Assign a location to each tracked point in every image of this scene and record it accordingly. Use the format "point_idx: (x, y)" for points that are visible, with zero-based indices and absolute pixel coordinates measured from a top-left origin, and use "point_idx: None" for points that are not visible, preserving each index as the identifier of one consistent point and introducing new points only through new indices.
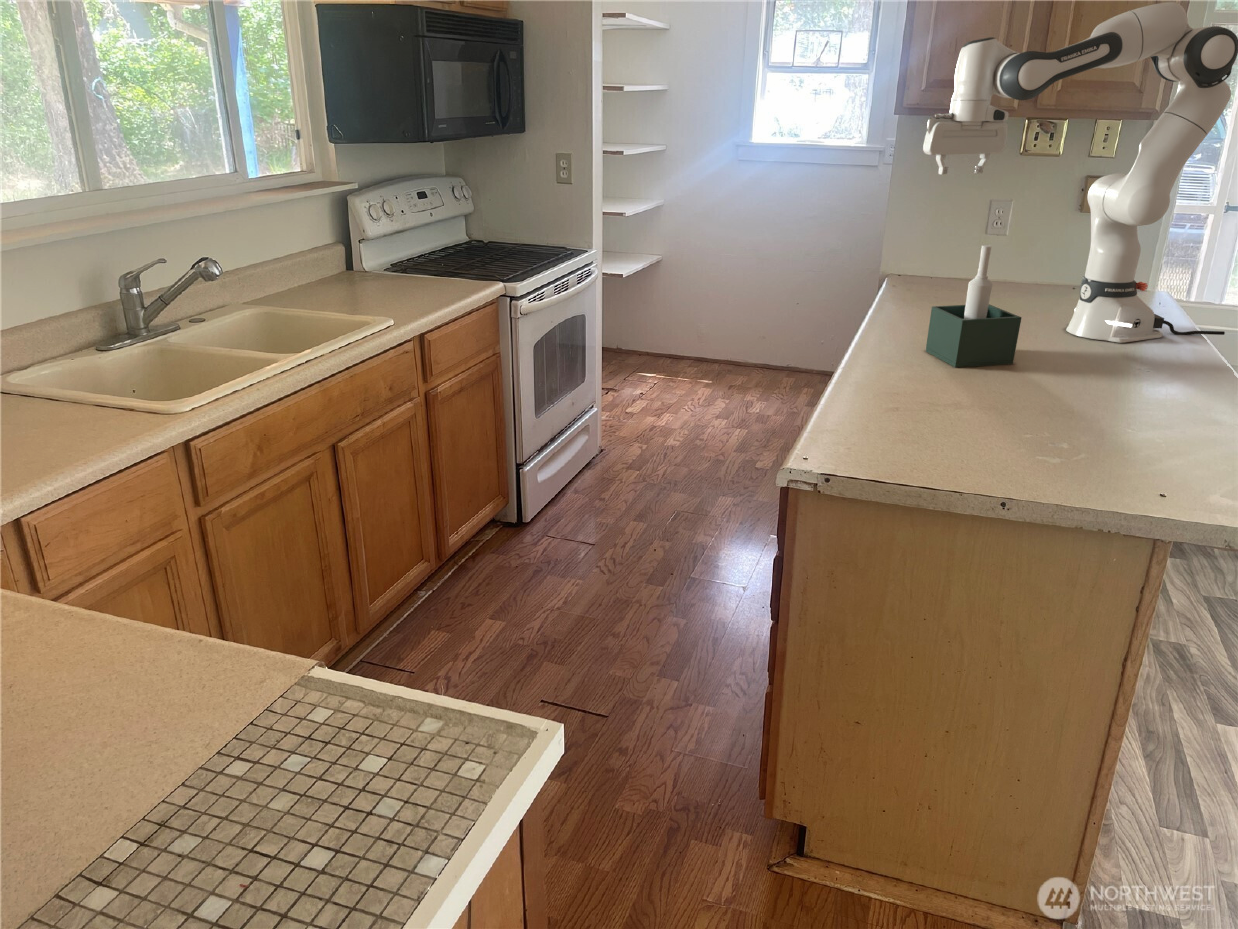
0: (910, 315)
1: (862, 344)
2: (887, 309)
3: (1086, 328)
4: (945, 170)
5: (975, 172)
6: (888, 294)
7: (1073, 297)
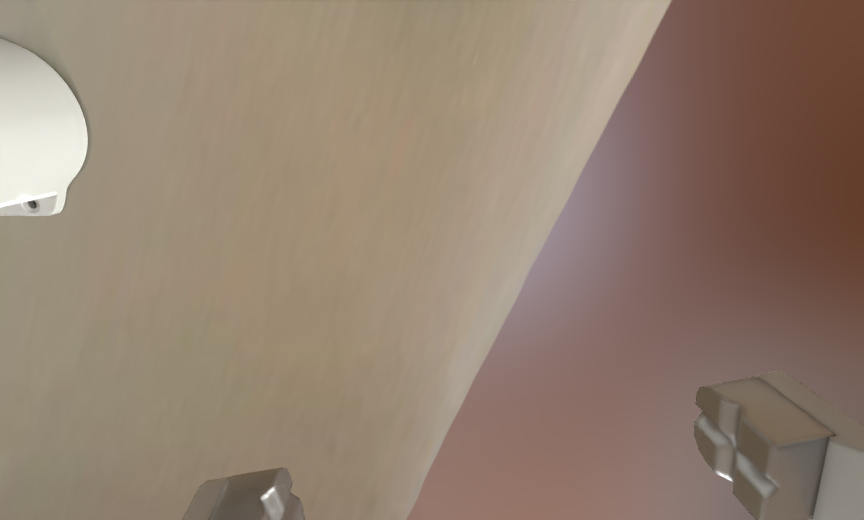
0: (439, 298)
1: (652, 26)
2: (473, 348)
3: (31, 73)
4: (769, 400)
5: (291, 501)
6: (426, 468)
7: (3, 460)
